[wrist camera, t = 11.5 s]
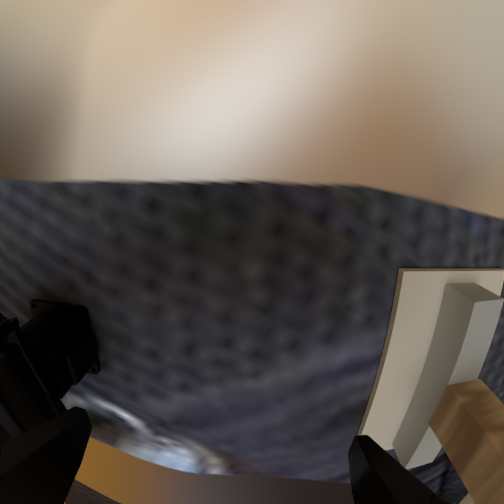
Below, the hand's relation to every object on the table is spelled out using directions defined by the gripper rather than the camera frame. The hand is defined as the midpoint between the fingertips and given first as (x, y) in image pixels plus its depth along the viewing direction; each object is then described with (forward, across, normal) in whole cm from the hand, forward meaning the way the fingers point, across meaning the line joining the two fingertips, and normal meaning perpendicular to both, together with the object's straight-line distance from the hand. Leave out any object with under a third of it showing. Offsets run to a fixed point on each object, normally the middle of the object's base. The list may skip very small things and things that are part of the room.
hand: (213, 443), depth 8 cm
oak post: (+8, -18, +7) cm, 21 cm away
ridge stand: (+13, -18, +8) cm, 23 cm away
